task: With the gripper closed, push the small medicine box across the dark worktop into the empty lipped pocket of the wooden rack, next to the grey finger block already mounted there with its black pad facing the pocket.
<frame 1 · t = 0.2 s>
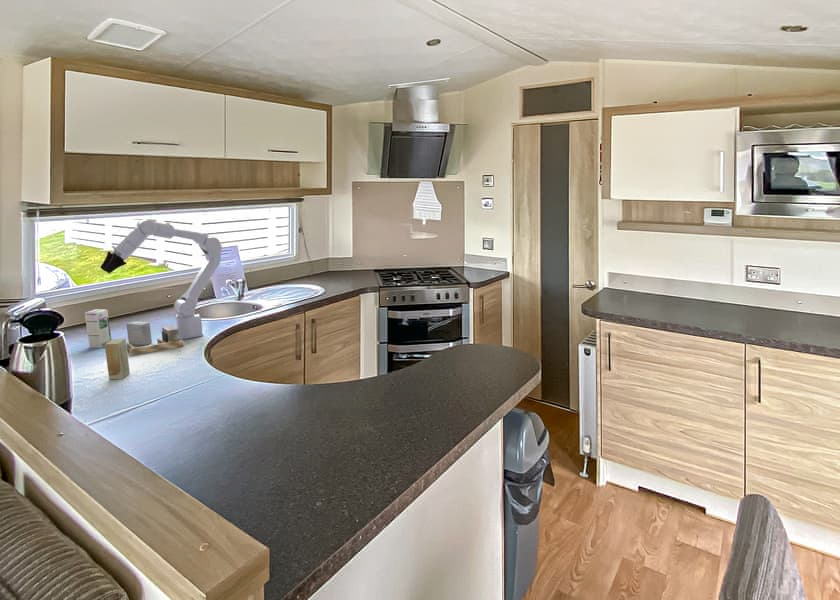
hand: (104, 270, 215), 31 cm above the worktop, tool tilted 45°, fingers open, 7 cm apart
medicine box: (140, 344, 227), on the worktop
wooden rack: (153, 348, 220), on the worktop
syrup box: (100, 346, 224), on the worktop
skincare box: (119, 377, 186), on the worktop
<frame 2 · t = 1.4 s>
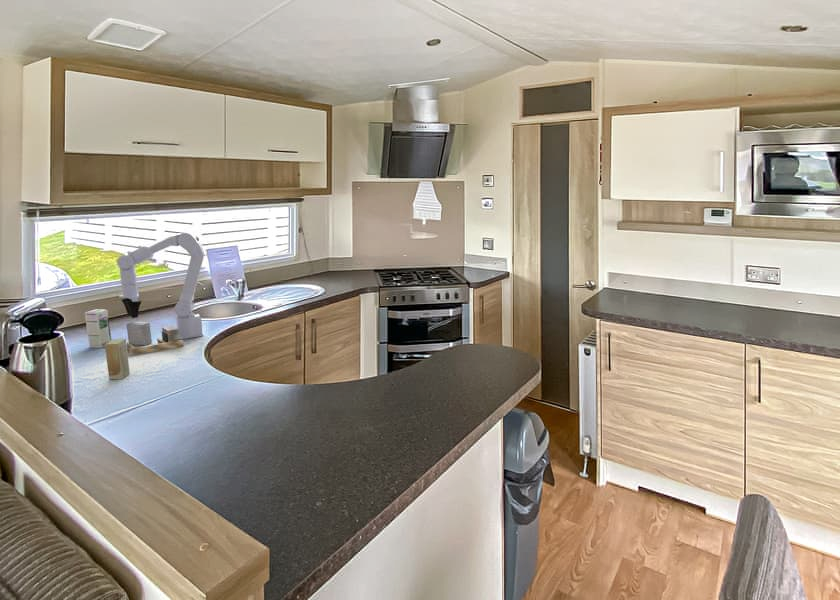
hand: (132, 316, 231), 10 cm above the worktop, tool pointing down, fingers open, 6 cm apart
nothing on the worktop moved.
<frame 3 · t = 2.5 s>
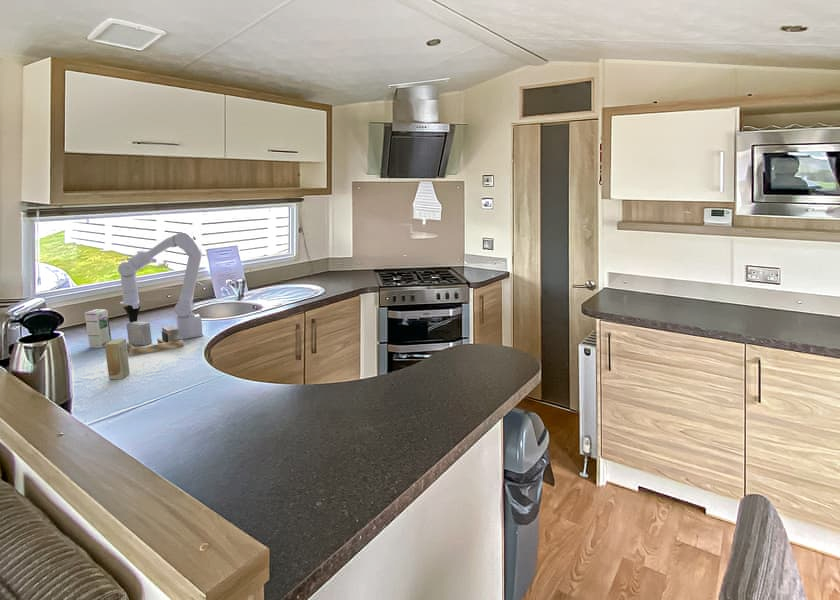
hand: (133, 323, 231), 7 cm above the worktop, tool pointing down, fingers closed
nothing on the worktop moved.
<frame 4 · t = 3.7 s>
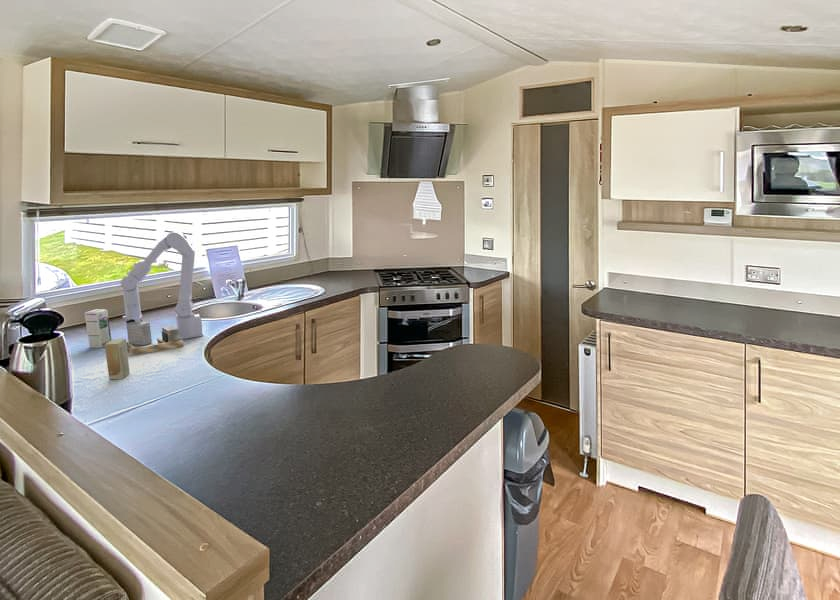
hand: (135, 337, 231), 1 cm above the worktop, tool pointing down, fingers closed
medicine box: (140, 344, 227), on the worktop, touching gripper
everything else where it was.
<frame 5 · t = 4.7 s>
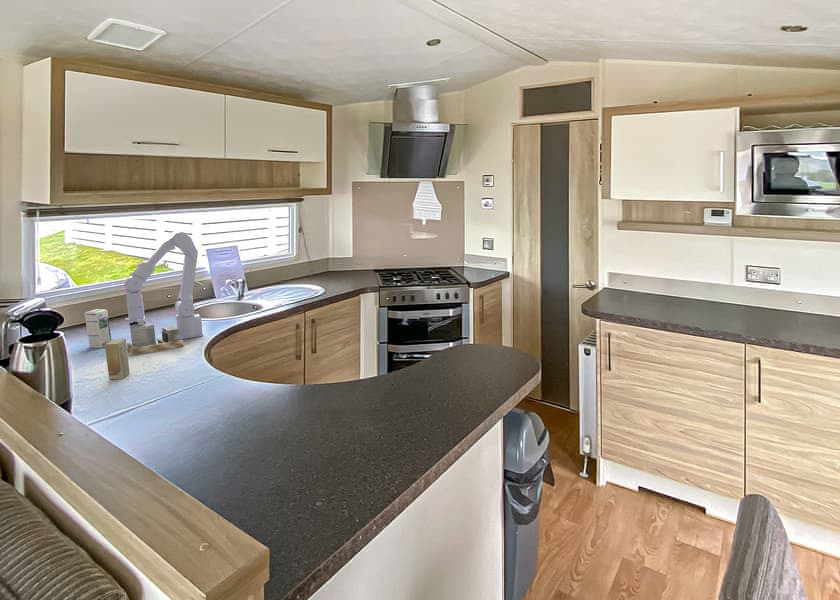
hand: (139, 339, 227), 1 cm above the worktop, tool pointing down, fingers closed
medicine box: (144, 346, 223), on the worktop, touching gripper
everything else where it was.
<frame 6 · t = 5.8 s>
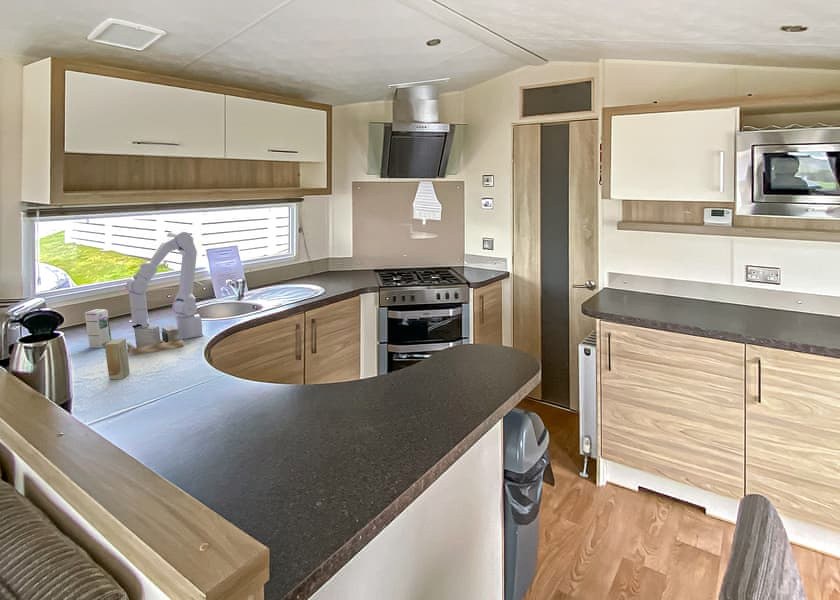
hand: (142, 342, 223), 1 cm above the worktop, tool pointing down, fingers closed
medicine box: (149, 349, 219), on the worktop, touching gripper, wooden rack
everything else where it was.
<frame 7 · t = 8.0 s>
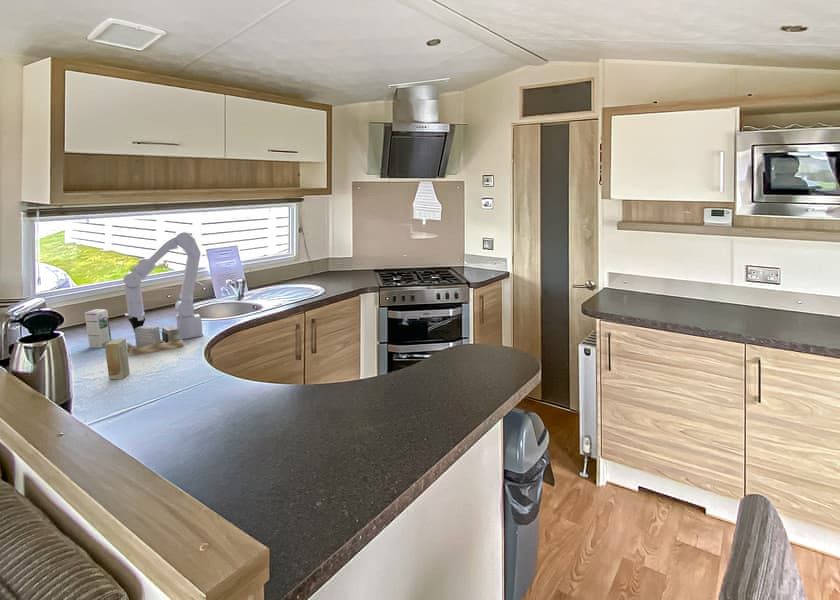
hand: (138, 335, 228), 3 cm above the worktop, tool pointing down, fingers closed
medicine box: (149, 349, 219), on the worktop
everything else where it was.
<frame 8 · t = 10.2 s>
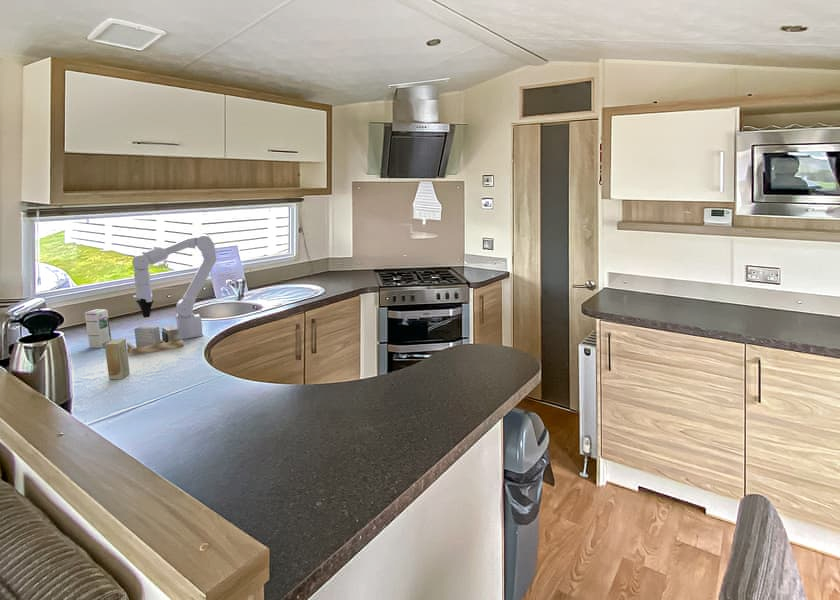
hand: (146, 317, 230), 10 cm above the worktop, tool pointing down, fingers closed
nothing on the worktop moved.
at the end: medicine box inside the target area on the wooden rack (0.6 cm from its centre), point 0.0 cm above the wooden rack's base; medicine box tilted 0°; medicine box moved 10.7 cm from its start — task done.
